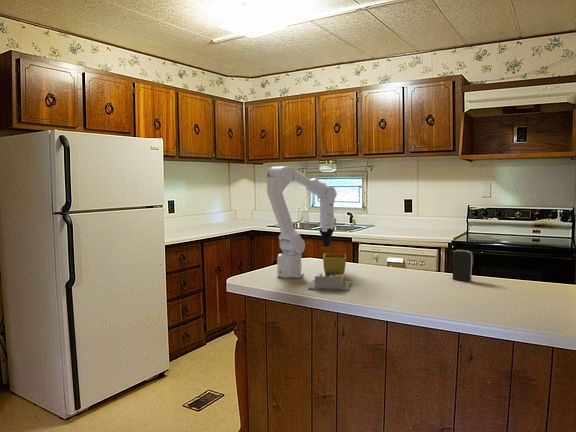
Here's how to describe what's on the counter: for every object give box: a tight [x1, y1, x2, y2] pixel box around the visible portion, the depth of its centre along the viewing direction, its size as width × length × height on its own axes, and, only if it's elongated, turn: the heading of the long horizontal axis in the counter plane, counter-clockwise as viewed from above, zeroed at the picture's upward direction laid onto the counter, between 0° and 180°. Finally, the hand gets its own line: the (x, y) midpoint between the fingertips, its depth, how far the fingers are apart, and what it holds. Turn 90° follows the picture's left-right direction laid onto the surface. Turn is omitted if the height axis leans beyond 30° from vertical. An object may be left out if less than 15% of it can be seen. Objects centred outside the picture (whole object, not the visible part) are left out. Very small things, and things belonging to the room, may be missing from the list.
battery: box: [452, 249, 474, 282], centre depth 169 cm, size 7×4×11 cm, turn 50°
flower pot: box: [322, 253, 347, 275], centre depth 174 cm, size 9×9×9 cm
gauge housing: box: [307, 272, 352, 293], centre depth 161 cm, size 14×12×5 cm
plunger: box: [324, 271, 346, 278], centre depth 163 cm, size 8×10×4 cm
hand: (326, 246), depth 190 cm, fingers closed
